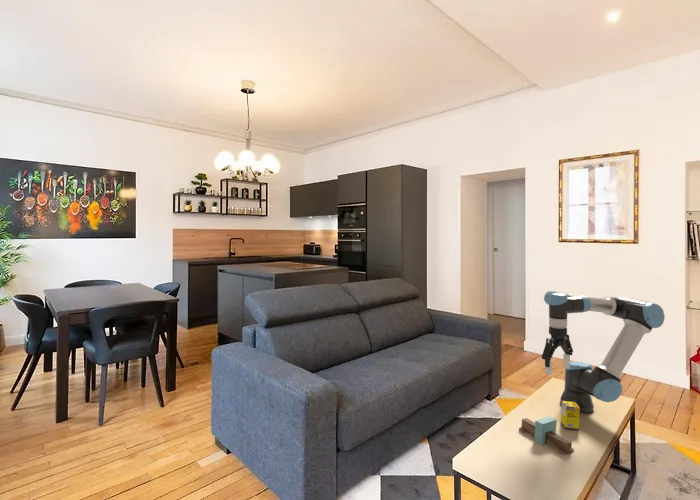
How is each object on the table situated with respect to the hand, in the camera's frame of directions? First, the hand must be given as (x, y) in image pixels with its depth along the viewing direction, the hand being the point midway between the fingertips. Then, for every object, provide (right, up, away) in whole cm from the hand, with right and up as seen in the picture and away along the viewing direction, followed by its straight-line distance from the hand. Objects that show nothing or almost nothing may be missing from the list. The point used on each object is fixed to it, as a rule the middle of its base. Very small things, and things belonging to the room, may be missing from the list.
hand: (557, 370), depth 180 cm
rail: (-13, -26, -13) cm, 32 cm away
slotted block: (-13, -26, -13) cm, 32 cm away
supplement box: (+5, -26, -1) cm, 27 cm away
